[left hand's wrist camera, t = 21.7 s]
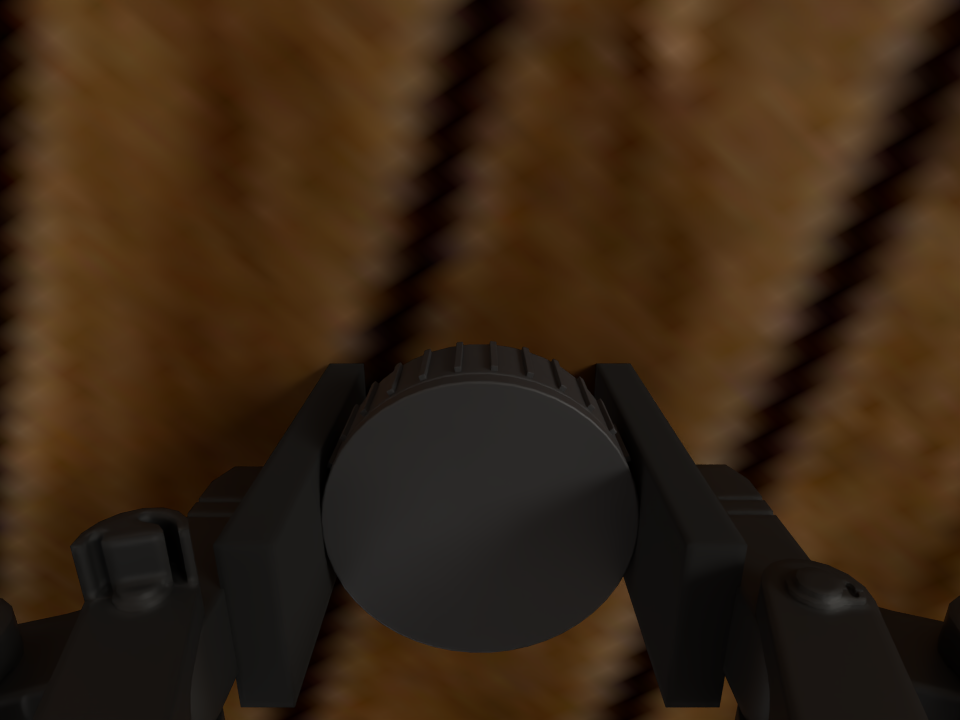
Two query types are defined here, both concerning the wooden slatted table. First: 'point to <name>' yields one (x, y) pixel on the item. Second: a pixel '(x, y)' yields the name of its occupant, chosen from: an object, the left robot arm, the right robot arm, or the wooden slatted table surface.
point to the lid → (480, 500)
